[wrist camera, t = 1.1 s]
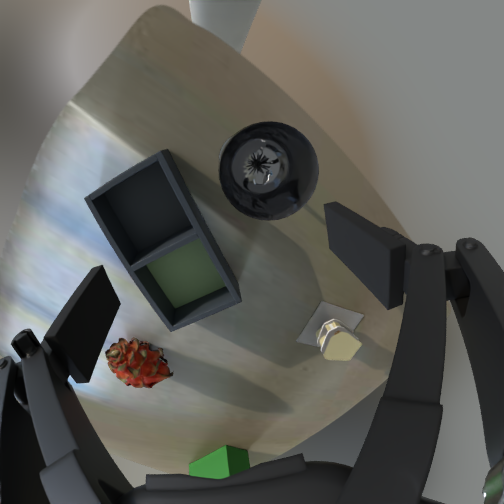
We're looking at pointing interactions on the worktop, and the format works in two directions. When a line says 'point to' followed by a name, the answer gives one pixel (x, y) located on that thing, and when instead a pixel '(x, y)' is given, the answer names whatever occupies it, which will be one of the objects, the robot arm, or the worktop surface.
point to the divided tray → (164, 242)
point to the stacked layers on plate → (332, 332)
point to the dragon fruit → (137, 363)
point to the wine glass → (268, 170)
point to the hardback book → (220, 463)
